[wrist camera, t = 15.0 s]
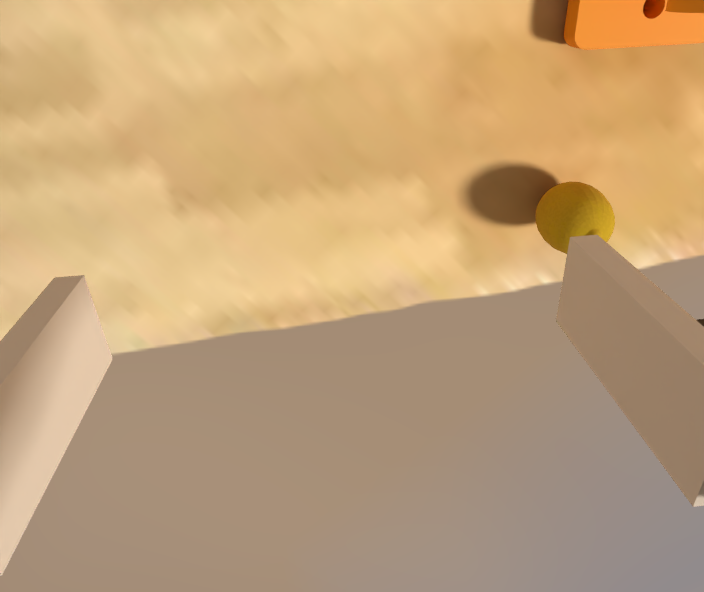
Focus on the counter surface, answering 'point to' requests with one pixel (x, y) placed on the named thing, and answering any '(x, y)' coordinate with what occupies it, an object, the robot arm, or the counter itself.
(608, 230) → the lemon
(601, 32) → the bracket
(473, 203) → the counter surface
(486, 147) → the counter surface
